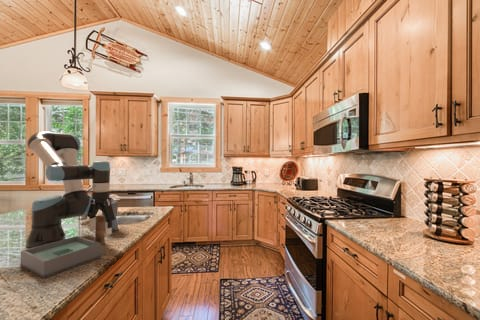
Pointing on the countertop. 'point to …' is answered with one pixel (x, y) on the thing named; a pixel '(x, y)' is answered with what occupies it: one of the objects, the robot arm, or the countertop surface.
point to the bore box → (60, 256)
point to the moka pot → (115, 209)
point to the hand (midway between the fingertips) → (100, 232)
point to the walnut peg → (100, 229)
